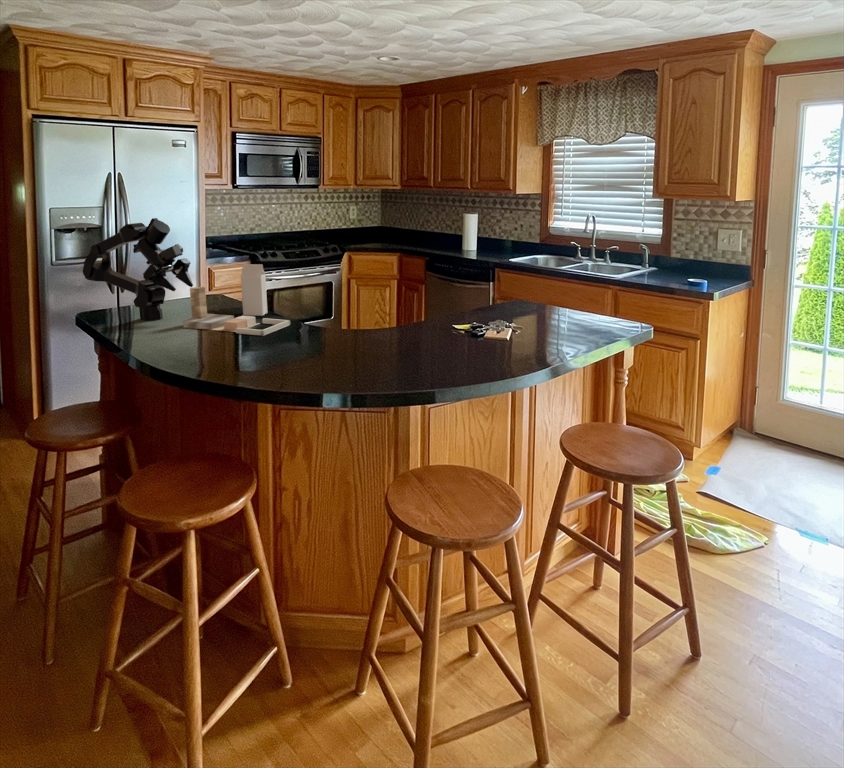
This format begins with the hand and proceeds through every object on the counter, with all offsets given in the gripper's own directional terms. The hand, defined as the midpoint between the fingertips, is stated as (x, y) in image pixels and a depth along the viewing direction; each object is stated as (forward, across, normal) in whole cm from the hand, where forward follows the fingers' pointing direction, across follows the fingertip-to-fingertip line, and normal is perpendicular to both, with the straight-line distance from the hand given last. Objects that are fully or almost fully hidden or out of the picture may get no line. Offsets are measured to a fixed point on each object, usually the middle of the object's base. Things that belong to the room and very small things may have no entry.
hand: (183, 288), depth 251 cm
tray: (+30, 0, -12) cm, 33 cm away
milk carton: (+19, +21, 0) cm, 28 cm away
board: (+19, 0, -1) cm, 19 cm away
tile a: (+23, +3, -7) cm, 24 cm away
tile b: (+23, -3, -7) cm, 24 cm away
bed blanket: (+15, 0, +2) cm, 15 cm away
